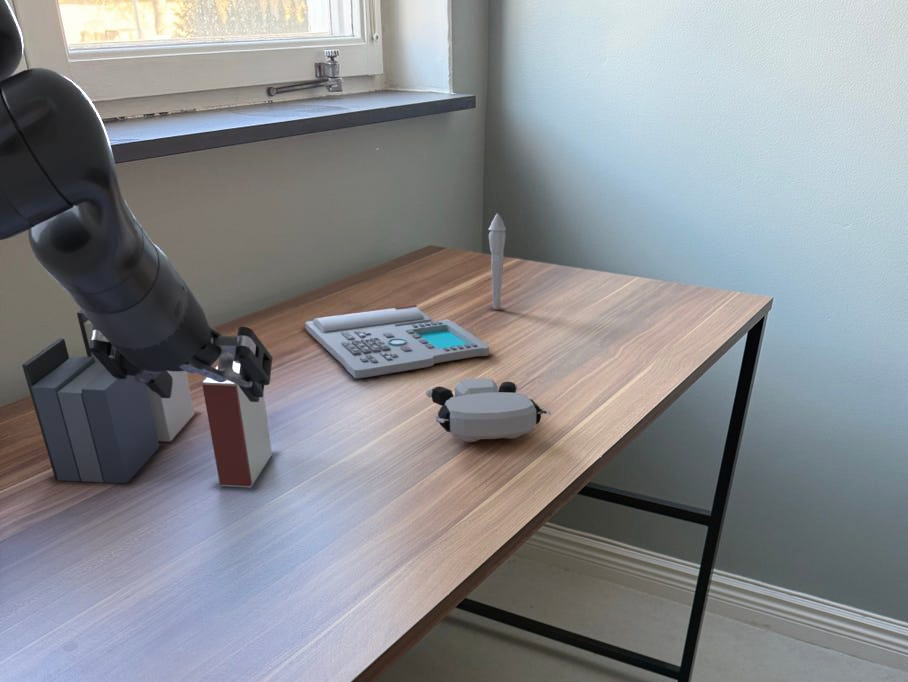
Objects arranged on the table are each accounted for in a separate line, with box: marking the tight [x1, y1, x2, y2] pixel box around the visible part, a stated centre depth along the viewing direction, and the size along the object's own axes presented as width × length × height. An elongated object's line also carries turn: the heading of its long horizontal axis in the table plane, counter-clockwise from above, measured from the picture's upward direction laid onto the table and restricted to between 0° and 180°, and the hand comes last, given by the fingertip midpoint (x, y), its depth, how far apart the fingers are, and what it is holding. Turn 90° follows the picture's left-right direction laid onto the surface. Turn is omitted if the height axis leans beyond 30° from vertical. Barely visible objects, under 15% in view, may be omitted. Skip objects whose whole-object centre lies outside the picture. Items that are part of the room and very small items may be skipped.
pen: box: [487, 212, 507, 311], centre depth 140 cm, size 2×3×14 cm
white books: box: [76, 310, 195, 443], centre depth 102 cm, size 7×8×14 cm
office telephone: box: [304, 304, 490, 379], centre depth 130 cm, size 23×3×20 cm
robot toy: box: [425, 377, 552, 443], centre depth 106 cm, size 12×4×15 cm
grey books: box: [21, 337, 160, 484], centre depth 95 cm, size 8×9×12 cm
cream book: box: [202, 361, 273, 488], centre depth 94 cm, size 3×8×11 cm, turn 175°
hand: (212, 390), depth 86 cm, fingers open, 8 cm apart
